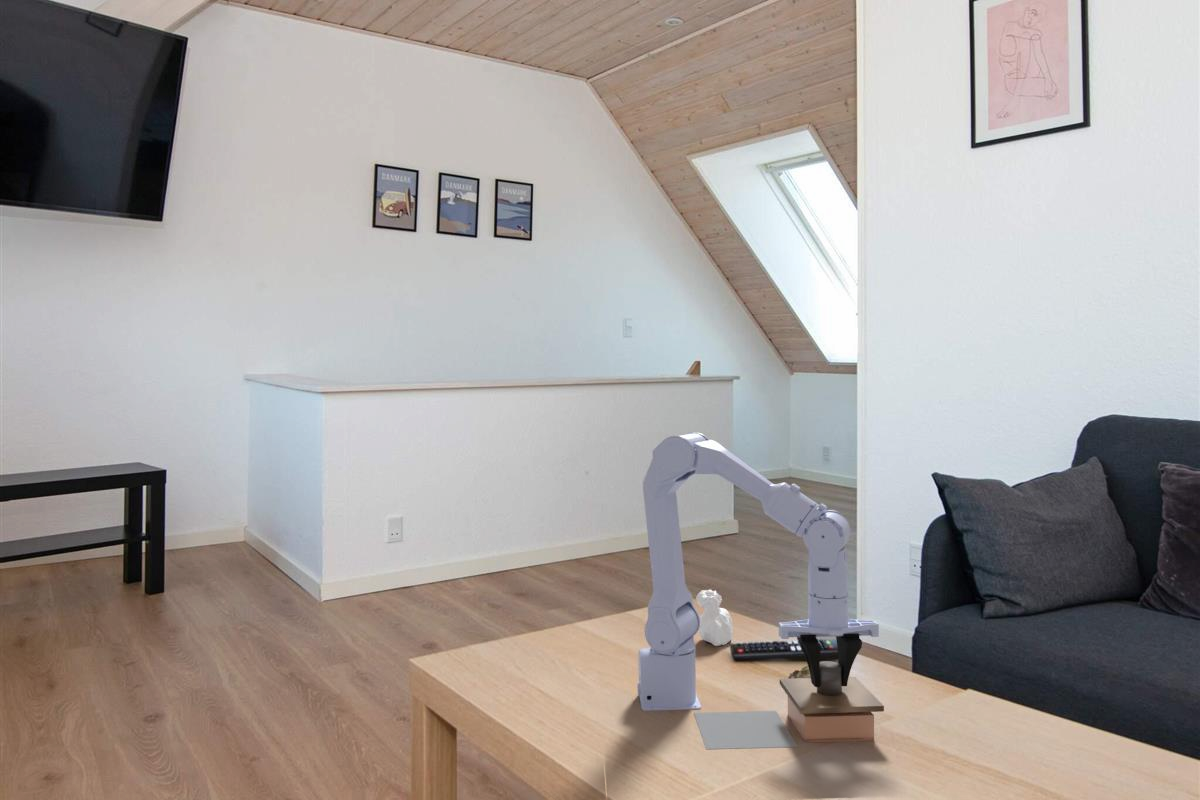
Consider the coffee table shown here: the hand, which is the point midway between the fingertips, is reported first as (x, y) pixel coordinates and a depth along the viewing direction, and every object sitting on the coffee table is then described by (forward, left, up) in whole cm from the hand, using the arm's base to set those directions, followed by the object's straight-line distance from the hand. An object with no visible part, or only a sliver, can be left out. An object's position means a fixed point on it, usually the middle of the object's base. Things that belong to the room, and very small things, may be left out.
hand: (828, 684), depth 125 cm
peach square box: (0, 0, -7) cm, 7 cm away
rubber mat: (-13, 0, -7) cm, 15 cm away
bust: (-10, +44, -7) cm, 46 cm away
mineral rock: (+2, +19, -7) cm, 20 cm away
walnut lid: (0, 0, -2) cm, 2 cm away
